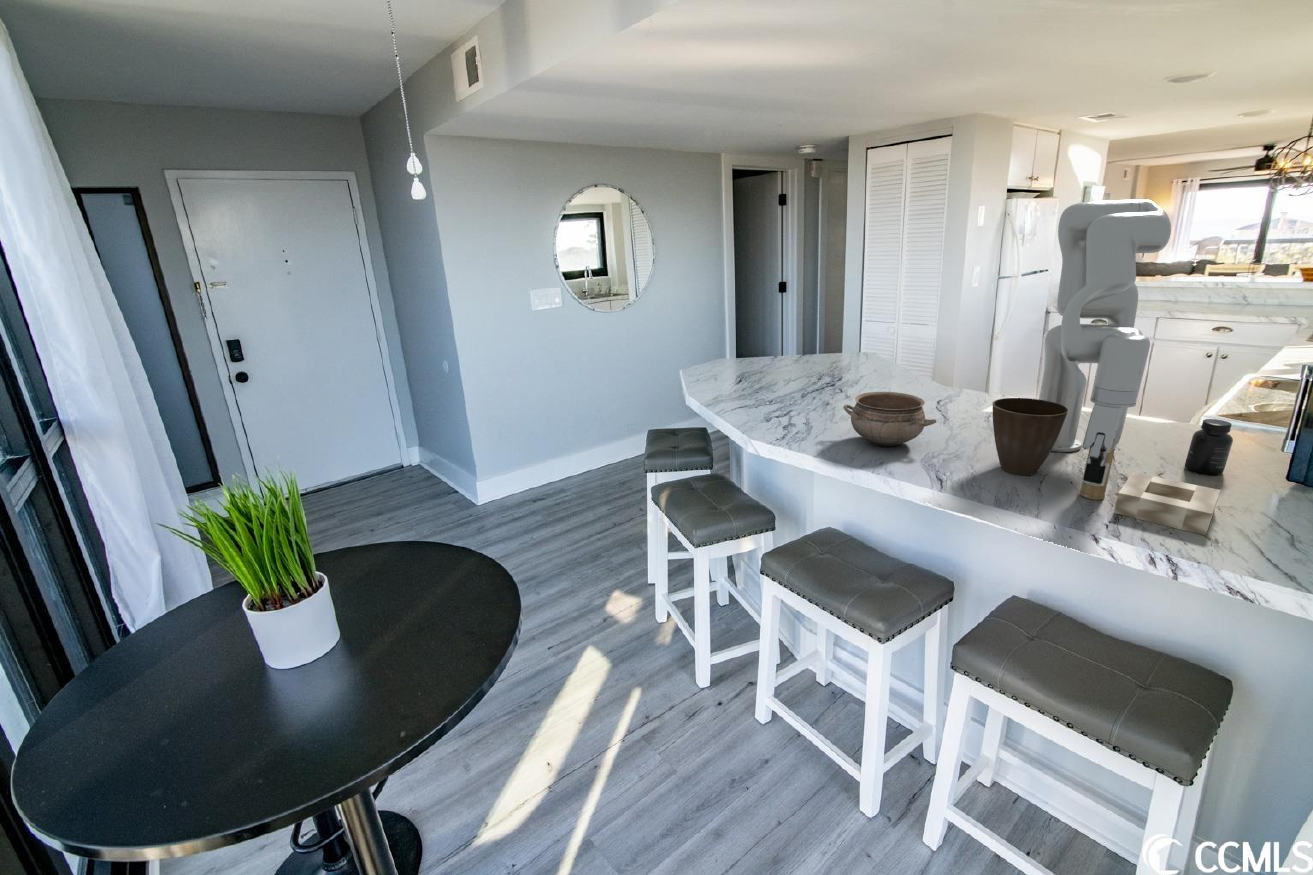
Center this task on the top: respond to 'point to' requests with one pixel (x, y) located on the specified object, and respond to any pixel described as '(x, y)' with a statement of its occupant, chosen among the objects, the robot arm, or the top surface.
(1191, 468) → the supplement bottle
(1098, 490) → the sprinkles bottle
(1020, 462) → the plant pot
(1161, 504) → the socket block
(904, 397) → the cooking pot
